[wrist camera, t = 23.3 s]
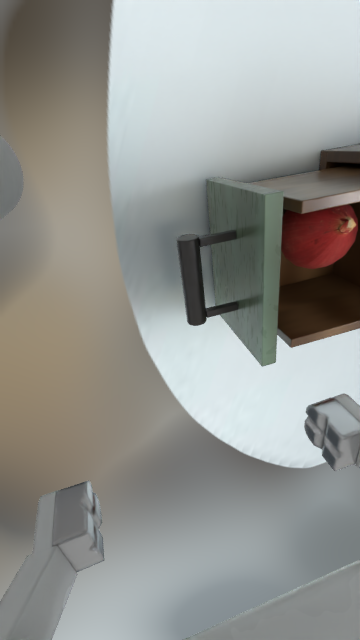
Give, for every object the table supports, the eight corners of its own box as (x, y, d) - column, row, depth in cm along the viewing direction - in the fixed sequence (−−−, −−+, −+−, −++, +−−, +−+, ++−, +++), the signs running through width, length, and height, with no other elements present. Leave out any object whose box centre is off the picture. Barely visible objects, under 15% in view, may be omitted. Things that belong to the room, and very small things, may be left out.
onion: (258, 211, 28) (306, 183, 20) (317, 201, 28) (386, 169, 21) (268, 275, 29) (317, 272, 21) (324, 264, 29) (393, 256, 21)
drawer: (175, 320, 31) (208, 382, 23) (154, 188, 25) (190, 208, 16) (329, 281, 34) (408, 324, 26) (347, 154, 28) (459, 157, 19)
